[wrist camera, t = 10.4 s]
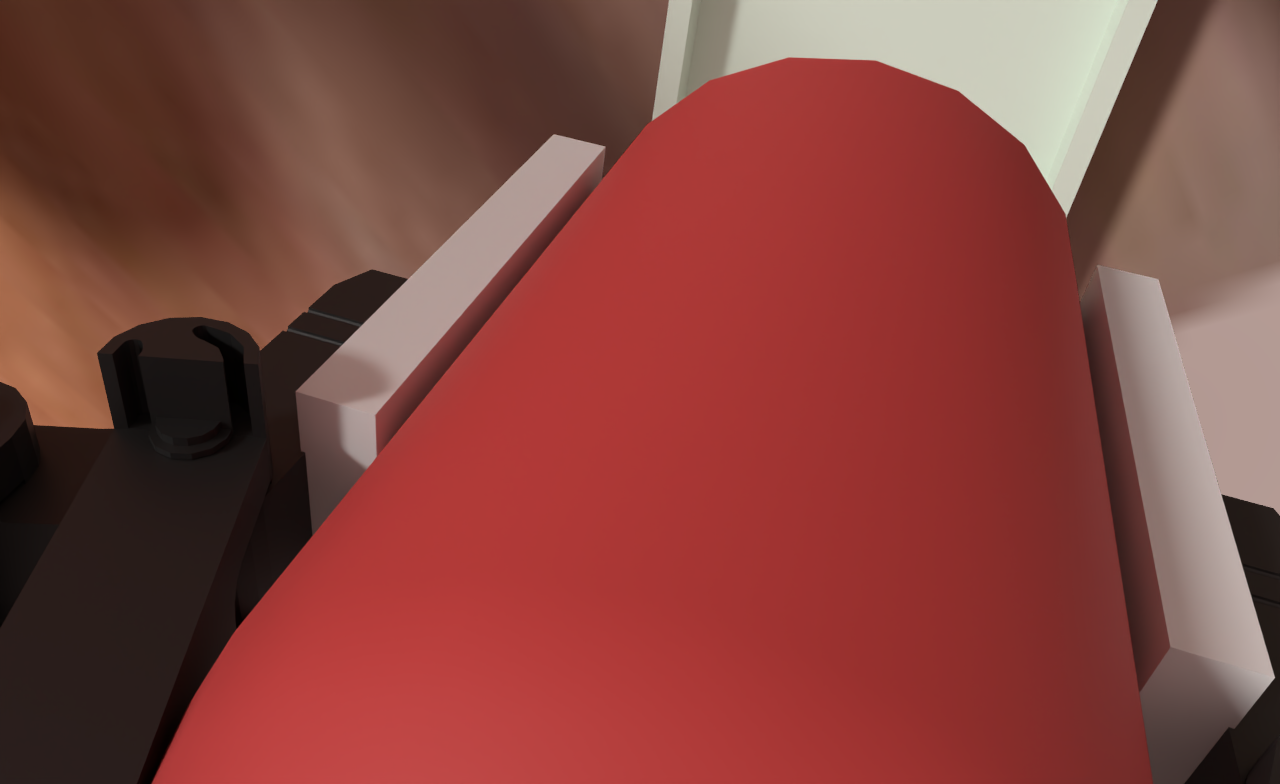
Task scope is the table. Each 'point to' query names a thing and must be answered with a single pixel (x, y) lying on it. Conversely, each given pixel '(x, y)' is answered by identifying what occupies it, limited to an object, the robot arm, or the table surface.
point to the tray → (936, 57)
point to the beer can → (729, 489)
